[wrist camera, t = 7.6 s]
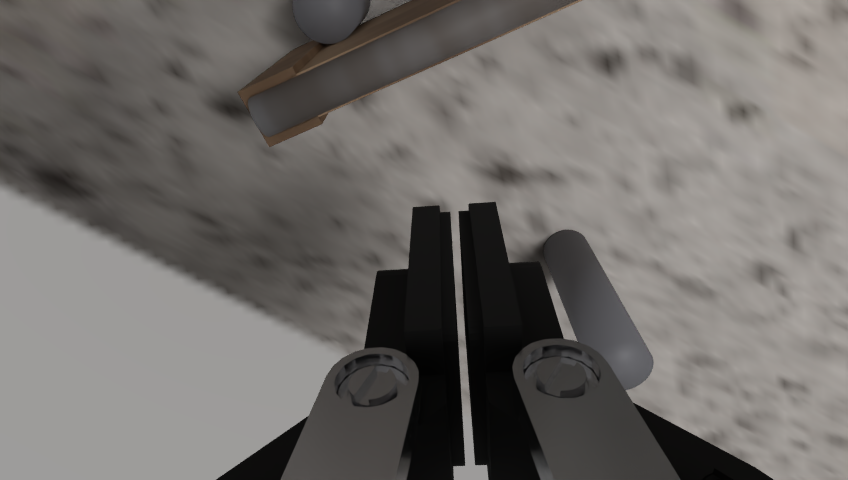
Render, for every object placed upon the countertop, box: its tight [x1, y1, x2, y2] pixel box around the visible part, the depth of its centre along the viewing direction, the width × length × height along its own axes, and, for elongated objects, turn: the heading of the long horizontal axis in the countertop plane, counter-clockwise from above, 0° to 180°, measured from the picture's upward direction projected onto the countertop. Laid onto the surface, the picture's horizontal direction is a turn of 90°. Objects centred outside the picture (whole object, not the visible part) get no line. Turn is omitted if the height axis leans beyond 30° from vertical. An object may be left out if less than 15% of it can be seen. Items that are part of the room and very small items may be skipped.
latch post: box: [543, 230, 653, 390], centre depth 22 cm, size 2×2×8 cm
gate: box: [238, 0, 582, 147], centre depth 17 cm, size 10×2×8 cm, turn 113°
